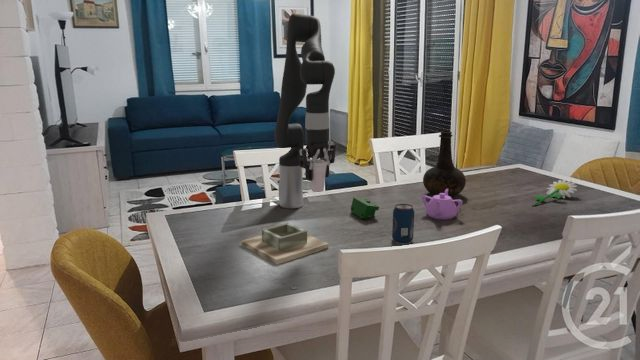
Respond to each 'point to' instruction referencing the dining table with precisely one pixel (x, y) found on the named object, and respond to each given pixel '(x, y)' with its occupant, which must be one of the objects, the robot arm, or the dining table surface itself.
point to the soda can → (403, 223)
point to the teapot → (441, 206)
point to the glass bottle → (444, 171)
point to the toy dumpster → (363, 208)
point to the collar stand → (284, 243)
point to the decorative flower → (558, 190)
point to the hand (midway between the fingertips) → (317, 178)
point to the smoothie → (318, 175)
